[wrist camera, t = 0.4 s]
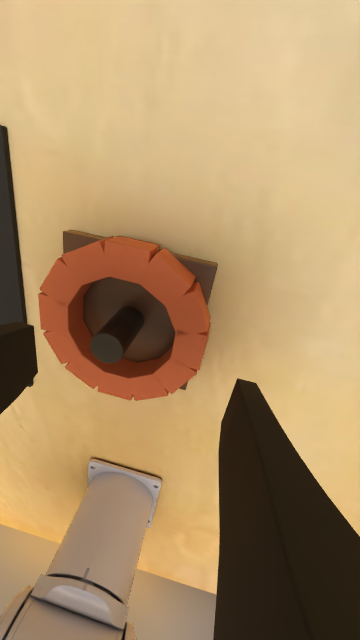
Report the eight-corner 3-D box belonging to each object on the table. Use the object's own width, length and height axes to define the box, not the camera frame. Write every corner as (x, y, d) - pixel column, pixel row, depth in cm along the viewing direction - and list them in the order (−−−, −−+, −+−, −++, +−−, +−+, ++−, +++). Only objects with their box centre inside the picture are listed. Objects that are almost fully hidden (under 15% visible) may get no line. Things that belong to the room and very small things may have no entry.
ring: (190, 397, 20) (186, 416, 18) (60, 361, 21) (44, 377, 19) (227, 260, 15) (227, 268, 13) (54, 221, 16) (32, 223, 14)
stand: (187, 382, 21) (175, 432, 16) (72, 351, 21) (31, 391, 17) (218, 262, 16) (213, 287, 12) (71, 229, 17) (14, 240, 12)
